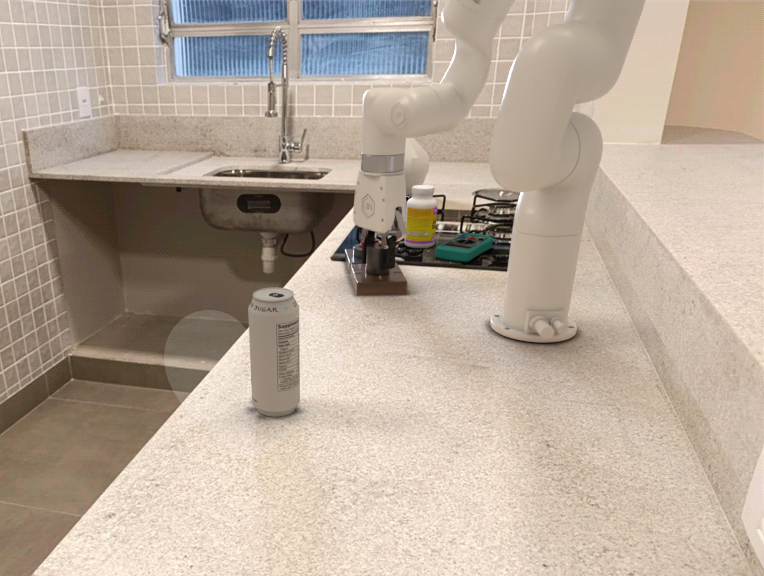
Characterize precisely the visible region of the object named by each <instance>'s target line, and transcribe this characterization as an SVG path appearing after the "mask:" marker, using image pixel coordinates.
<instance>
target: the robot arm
mask: <svg viewBox="0 0 764 576" xmlns="http://www.w3.org/2000/svg"><path fill="white" fill-rule="evenodd" d="M515 1H516V0H447V1H446V3H445V4H444V7H443V9H442V11H441V22H442V24H443V26H444V28H445V29H446V30H447V31H448V32H449V33H450V34H451V35H452V36H453V37H454V41H455V46H454V53H453V56H452V59H451V61H450V64H449V66H448V68H447V70H446V71H445V73H444V75H443V77H442V79H441V81H440V82H439V83H438V84H432V85H424V86H415V87H414V86H413V87H405V89H403V88H404V87H399V86H380V87H372V88H368V89H367V90H365V92H364V94H363V97H362V111H361V112H362V113H361V114H362V115H361V117H362V118H361V119H362V120H361V122H362V123H361V147H360V148H361V151H360V153H361V154H360V170H358V174H357V177H356V183H355V184H356V185H355V189H354V197H353V199H354V200H353V211H352V212H353V213H352V216H353V217H352V221H353V223H354V225H356V226H357V229H358V231H359V234H360V242H361V241H362V242H363V245H362V263H364V264H366V254H367V245H368V244H371V243H378V240H375V239H377V236H378V234H380V237H381V243H382V247H383V248H381V249H380V257H379V269H380V270H387V269H392V268H394V267H395V262H396V251H397V248H398V247H399V244H400V243H401V242H402V240H404V239H405V237H406V236H407V235H408V232H407V229H406V226H405V225H406V208H407V199H406V184H405V175H404V161H405V144H406V138H414V139H415V138H420V137H425V136H431V135H436V134H442V133H444V134H445V133H448V132H451V131H453V130H454V129H455V128H457V127H458V126H459V125H461V123H462V122H463V121H464V120H465V119H466V118H467V116H468V114H469V113H470V112H471V110H472V108H473V106H474V105H475V103H476V102H477V100H478V98H479V97H480V95H481V93H482V91H483V89H484V88H485V85H486V83H487V81H488V78H489V74H490V69H491V64H492V57H493V42H494V39H495V37H496V34H497V32H498V30H499V29H500V28H501V26H502V24H503V22H504V20H505V19H506V17H507V15H508V14H509V12H510V10H511V8H513V7H512V6H513V5H514V3H515ZM645 4H646V0H570V4H569V6H568V9H567V12H566V15H565V17H564V20H563V23H556V24H552V25H549V26H546V27H543V28H541V29H539V30H537V31H536V32H535V33H533V34H532V35H530V37H529V38H528V39H527V40H526V41H525V42H524V43H523V45H522V46H521V48H520V49H519V51H518V52H517V54H516V56H515V58H514V60H513V62H512V65H511V67H510V70H509V73H508V77H507V80H506V84H505V87H504V91H503V95H502V99H501V102H500V106H499V110H498V113H497V117H496V120H495V125H494V128H493V132H492V135H491V140H490V144H489V145H490V146H489V150H488V164H489V169H490V173H491V175H492V177H493V179H494V181H495V182H496V183H497V184H498V185H499V186H500V187H501V188H503V189H504V190H507V191H508V192H512V193H519V196H518V199H517V202H516V206H515V211H514V217H513V224H512V229H511V230H512V231H511V239H510V246H509V253H508V254H509V255H508V261H507V269H506V270H507V271H506V277H505V278H506V279H505V287H504V294H503V302H502V310H500V311H497V312H495V313H494V314H493V315H491V317H490V323H489V326H490V327H491V330H493V331H494V332H496V333H497V334H499V335H502V336H504V337H506V338H509V339H513V340H517V341H522V342H528V343H530V342H531V343H543V344H544V343H545V344H546V343H558V342H564V341H568V340H570V339H572V338H573V337H574V336H576V334H577V332H578V323H577V322H576V321H575V319H573V318H571V317H569V313H570V306H571V300H572V295H573V288H574V282H575V277H576V272H577V266H578V259H579V254H580V247H581V242H582V235H583V230H584V227H585V226H584V225H585V219H586V214H587V209H588V204H589V200H590V196H591V192H592V190H593V185H594V183H595V180H596V176H597V174H598V171H599V168H600V165H601V161H602V157H603V151H604V148H603V147H604V144H603V143H604V141H603V137H602V135H603V134H602V132H601V129H600V127H599V125H598V124H597V123H596V121H595V120H593V118H591V117H590V116H589V115H587V114H584V113H583V112H578V111H574V108H575V105H579V104H586V103H589V102H593V101H596V100H598V99H601V98H602V97H604V96H606V95H607V94H608V93H609V92H611V90H612V89H613V88H614V87H615V85H616V84H617V82H618V80H619V78H620V76H621V73H622V70H623V69H624V65H625V62H626V59H627V56H628V53H629V50H630V47H631V44H632V42H633V39H634V36H635V33H636V31H637V27H638V25H639V22H640V19H641V15H642V13H643V10H644V7H645ZM389 235H390V237H389Z"/></svg>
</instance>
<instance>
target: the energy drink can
mask: <svg viewBox="0 0 764 576" xmlns="http://www.w3.org/2000/svg"><path fill="white" fill-rule="evenodd" d="M294 296H295V293H294V291H293V290H292V289H289V288H285V287H278V286H277V287H273V286H272V287H264V288H260V289H257V290H255V291H254V292H253V293H252V299H251V302H250V304H249V305H248V307H247V309H248V310H247V312H248V313H247V316H248V336H249V337H248V339H249V361H250V362H249V363H250V383H251V386H250V387H251V403H252V405H253V406H254V407H255V408H256V410H257V412H258V413H260V414H262V415H264V416H267V417H273V418H275V417H277V418H278V417H279V418H280V417H284V416H288V415H291V414H292V413H293V412H295V410H296V408H297V406H299V404H300V403H301V368H300V364H301V358H300V357H301V355H300V354H301V353H300V350H301V349H300V306H299V304H298V301H297V300H296V299H295V297H294Z"/></svg>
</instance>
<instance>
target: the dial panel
mask: <svg viewBox="0 0 764 576" xmlns="http://www.w3.org/2000/svg"><path fill="white" fill-rule="evenodd" d="M349 277H350V280H351V283H352V287H353V289H354V292H355V295H356V296H358V297H359V296H392V295H393V296H396V295H407V292H408V280H407V278H406V276H405V275H404V273H403V271H402V269H401V267H400V266H399V264H398V263H397V262H396V263H395V267H394V268H392V269H390V273H388V274H386V275H370V274H368V273H366V264H351V267H350V274H349Z"/></svg>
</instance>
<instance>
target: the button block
mask: <svg viewBox="0 0 764 576" xmlns="http://www.w3.org/2000/svg"><path fill="white" fill-rule="evenodd" d="M344 261H345V265H346V267H347V270H348V274H349V275H350V267H351V264H364V263H362V248H361V242H360V243H356V244H354V245H353V246H352V248H345V249H344ZM395 263H397V262H396V261H395Z"/></svg>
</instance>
